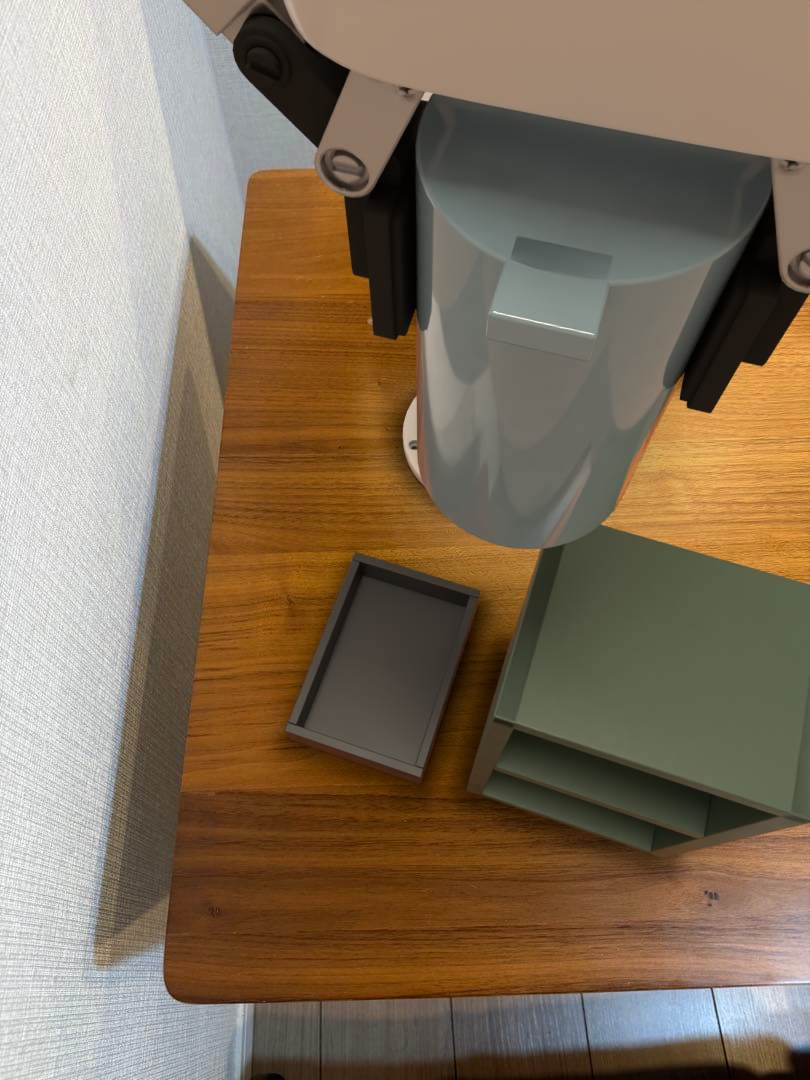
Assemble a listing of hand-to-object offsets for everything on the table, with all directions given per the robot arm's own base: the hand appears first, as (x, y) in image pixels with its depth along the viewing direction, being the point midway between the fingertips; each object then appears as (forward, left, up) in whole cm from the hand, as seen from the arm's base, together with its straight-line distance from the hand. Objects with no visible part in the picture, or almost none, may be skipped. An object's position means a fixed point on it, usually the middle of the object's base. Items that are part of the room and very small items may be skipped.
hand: (552, 321), depth 19 cm
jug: (0, 0, -6) cm, 6 cm away
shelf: (0, +8, -40) cm, 41 cm away
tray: (-1, -6, -40) cm, 41 cm away
